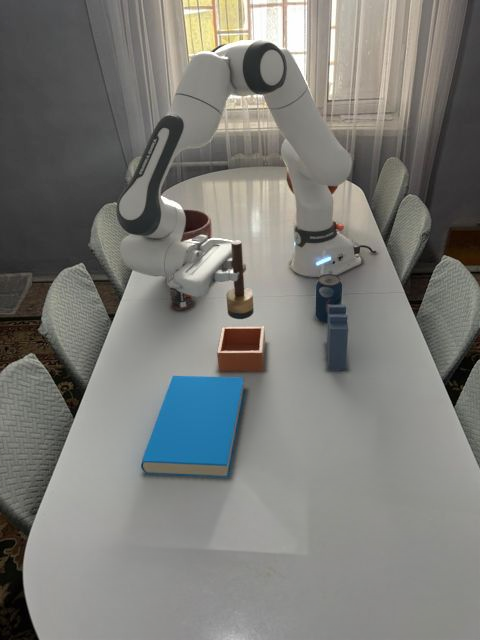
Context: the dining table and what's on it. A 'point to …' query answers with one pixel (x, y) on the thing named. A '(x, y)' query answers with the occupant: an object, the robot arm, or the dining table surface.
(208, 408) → the book
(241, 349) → the caddy
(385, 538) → the dining table surface
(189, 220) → the pottery
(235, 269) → the brush
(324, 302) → the soda can
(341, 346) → the stand
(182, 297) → the supplement bottle
